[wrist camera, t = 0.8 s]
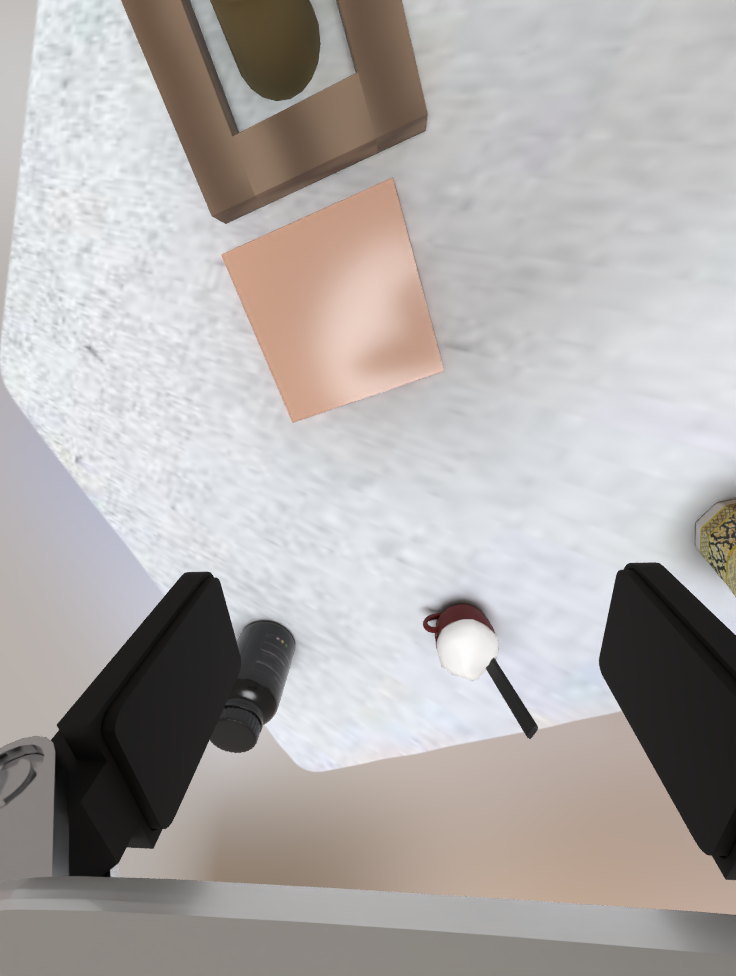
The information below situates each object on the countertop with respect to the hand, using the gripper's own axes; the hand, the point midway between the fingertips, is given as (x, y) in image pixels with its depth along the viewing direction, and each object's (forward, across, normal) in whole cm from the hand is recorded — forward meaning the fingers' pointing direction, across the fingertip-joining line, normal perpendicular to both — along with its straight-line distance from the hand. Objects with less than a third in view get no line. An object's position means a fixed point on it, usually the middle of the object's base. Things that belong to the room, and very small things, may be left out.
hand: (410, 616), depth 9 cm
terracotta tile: (+28, +5, -7) cm, 29 cm away
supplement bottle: (+28, +17, +28) cm, 44 cm away
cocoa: (+28, -6, +25) cm, 38 cm away
